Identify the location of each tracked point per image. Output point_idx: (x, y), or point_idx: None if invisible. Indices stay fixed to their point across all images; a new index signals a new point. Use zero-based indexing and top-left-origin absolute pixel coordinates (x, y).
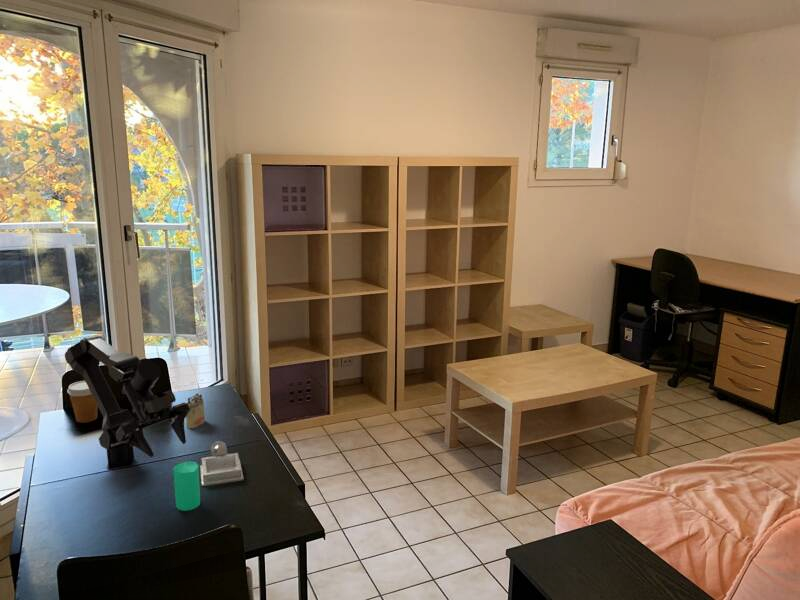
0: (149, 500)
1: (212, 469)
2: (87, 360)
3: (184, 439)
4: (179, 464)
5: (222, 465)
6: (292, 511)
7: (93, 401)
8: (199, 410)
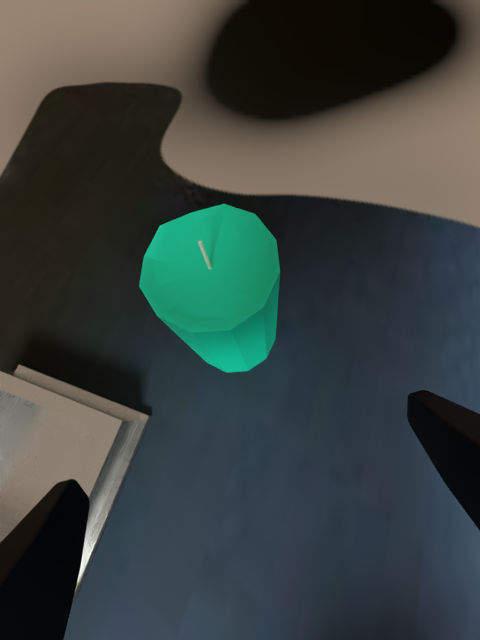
0: (347, 444)
1: None
2: None
3: (47, 503)
4: (224, 323)
5: (6, 522)
6: (41, 152)
7: None
8: None
